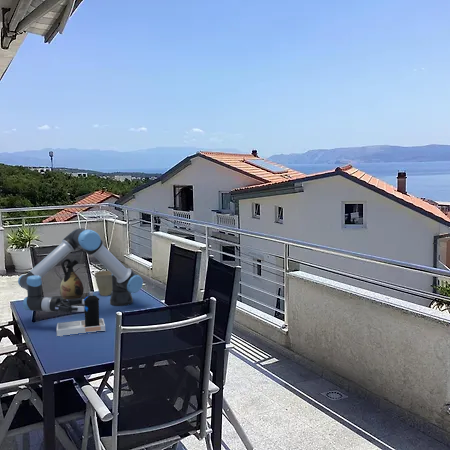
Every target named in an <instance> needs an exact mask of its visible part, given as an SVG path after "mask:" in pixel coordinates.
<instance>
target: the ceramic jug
mask: <svg viewBox="0 0 450 450" xmlns="http://www.w3.org/2000/svg"><path fill="white" fill-rule="evenodd" d="M60 262H61V268H62V269H61V270H62V271H63V273H64V277H63V278H62V280H61V282H60V286H59V295H60V298H62V299H63V300H65V299H77V298H82V296H83V294H84V292H85V291H84V289H85V288H84V285H83V282H82V280H81V278H80V276H78V274H76V272H75V271H74V267H75V266H77V265H78V264H79V261H77V260H76V259H70V258H67V257H66V258H65V257H64V258H63V259H62V260H61V261H60ZM65 263H67V264H66V266H65Z"/></svg>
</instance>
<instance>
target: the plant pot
mask: <svg viewBox="0 0 450 450" xmlns="http://www.w3.org/2000/svg"><path fill="white" fill-rule="evenodd" d="M94 279H95V283H96V287H97V291H98V292H99V295H100V296H102V297H108V295H109V296H111V295H112V273H111V272H110V271H109V270H99V271H96V272H95V273H94Z"/></svg>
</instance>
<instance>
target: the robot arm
mask: <svg viewBox="0 0 450 450" xmlns="http://www.w3.org/2000/svg"><path fill="white" fill-rule="evenodd" d="M61 241H62V242H61V243H60V244H59V245H58V246H56V247H55V248H54V249H53V250H52V251H51V252H50V253H48V255H46V256H45V257H44V258H43V259H42V260H41V261H39V262H38V263H37V264H36V265H35V266H34V267H32V269H31V270H29V271H28V272H27V273H26V274H22V275H20V276H19V277H18V279H17V282H18V285H19V287H20V288H22V289H25V290H26V291H27V296H26V297H24V298H23V301H22V307H23V309H24V310H25V311H32V312H34V311H35V312H36V311H37V312H47V313H48V312H63V313H66V314H67V313H70V314H72V313H73V312H78V313H79V312H83V313H85V307H84V306H82V305H84V299H85V298H84V297H81V298H77V299H65V300H64V299H63V300H61V297H51V296H49V297H46V296H43V286H42V283H43V281H42V278H43V277H45V276H46V275H47V274H48V273H49V272H50V271H51V270H52V269H53V268H54V267H55V266H57V264H59V263H60V262H62V260H63V259H65V257H67V255H69V254H70V253H71V252H75V251H76V250H77V249H79V248H80V249H82V251H84V252H85V253H86V254H87V255H88V256H93V257H94V259H96V260H97V261H99V263H100V264H101V265H103V267H105V268H106V270H107V271H110V272H111V273H112V293H111V295H110V298H109V304H110V305H111V306H116V307H123V306H124V305H125V306H129V305H132V304H133V303H134V298H133V296H132V294H136V293H138V292H140V291H141V289H142V288H143V285H144V279H143V278H142V277H141V275H139V274H136V273H135V272H134V271H133V269H131V268H129V267H128V268H127V267H125V265H123V263H121V261H120V260H119V259H118V258H117V257H115V255H114V254H112V252H111V251H110V250H108V248H107V247H106V246H105V245H104V241H103V240H102V238H101V235H100V234H99V233H98V232H96V231H94V230H92V229H87V228H82V227H80V228H76V229H74V230H73V231H71V232H70V233H68V234H67V236H65V237H64V238H63V239H62V240H61ZM131 303H132V304H131ZM128 304H129V305H128ZM78 305H79V306H78ZM125 306H124V307H125Z"/></svg>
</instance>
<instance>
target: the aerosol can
mask: <svg viewBox="0 0 450 450" xmlns="http://www.w3.org/2000/svg"><path fill="white" fill-rule="evenodd" d="M83 299H84V304H83V305H84V320H85V327H91V326H100V325H99V319H100V298H99V297H98V296H97V295H94V291H89V295H88V296H85V298H83Z"/></svg>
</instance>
